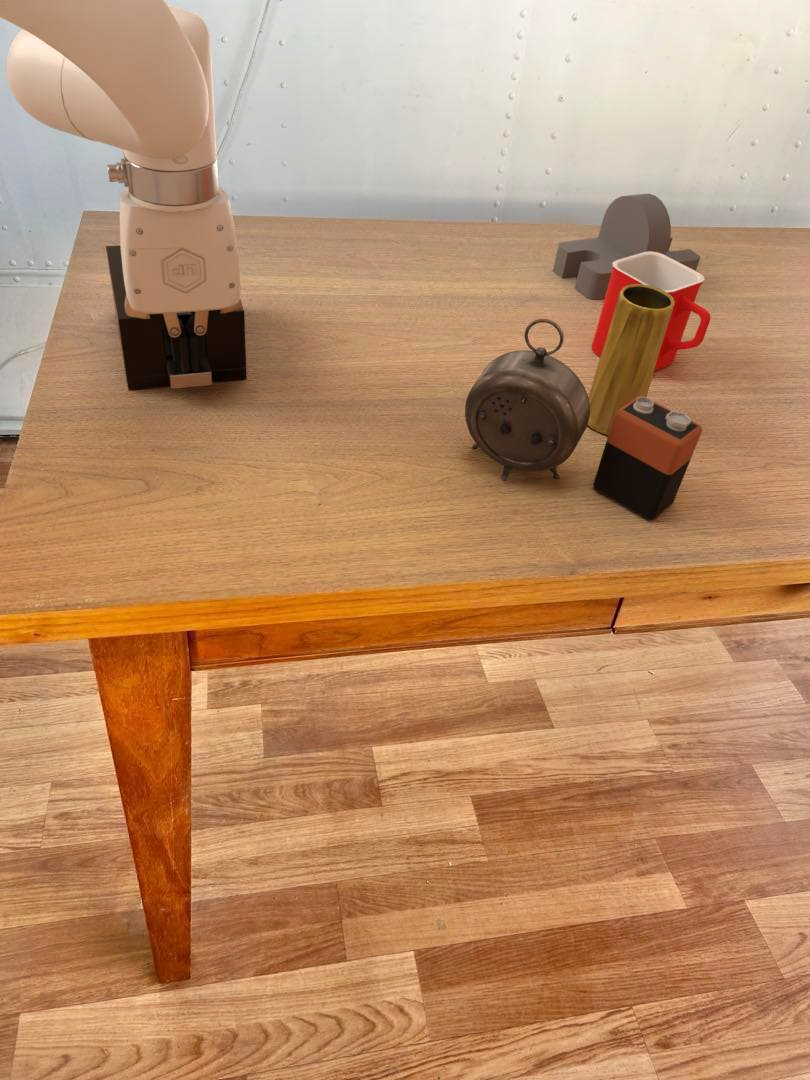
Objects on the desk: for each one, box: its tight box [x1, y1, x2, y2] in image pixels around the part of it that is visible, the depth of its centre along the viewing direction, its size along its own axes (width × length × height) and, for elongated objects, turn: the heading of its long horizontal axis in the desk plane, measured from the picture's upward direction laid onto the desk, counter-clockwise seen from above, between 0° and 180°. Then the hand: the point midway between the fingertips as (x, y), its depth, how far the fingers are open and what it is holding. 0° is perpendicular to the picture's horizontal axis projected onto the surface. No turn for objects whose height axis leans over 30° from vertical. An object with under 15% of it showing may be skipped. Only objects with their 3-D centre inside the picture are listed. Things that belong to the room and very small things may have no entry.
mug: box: [591, 251, 711, 372], centre depth 97 cm, size 12×8×11 cm
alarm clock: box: [464, 318, 590, 483], centre depth 78 cm, size 11×5×16 cm, turn 65°
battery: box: [592, 396, 703, 521], centre depth 79 cm, size 4×7×10 cm, turn 47°
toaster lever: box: [166, 357, 213, 390], centre depth 86 cm, size 4×3×2 cm
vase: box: [587, 284, 675, 436], centre depth 87 cm, size 6×6×14 cm
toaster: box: [105, 245, 247, 391], centre depth 91 cm, size 12×16×8 cm
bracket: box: [552, 193, 701, 301], centre depth 114 cm, size 10×18×11 cm, turn 117°
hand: (189, 365), depth 85 cm, fingers closed
